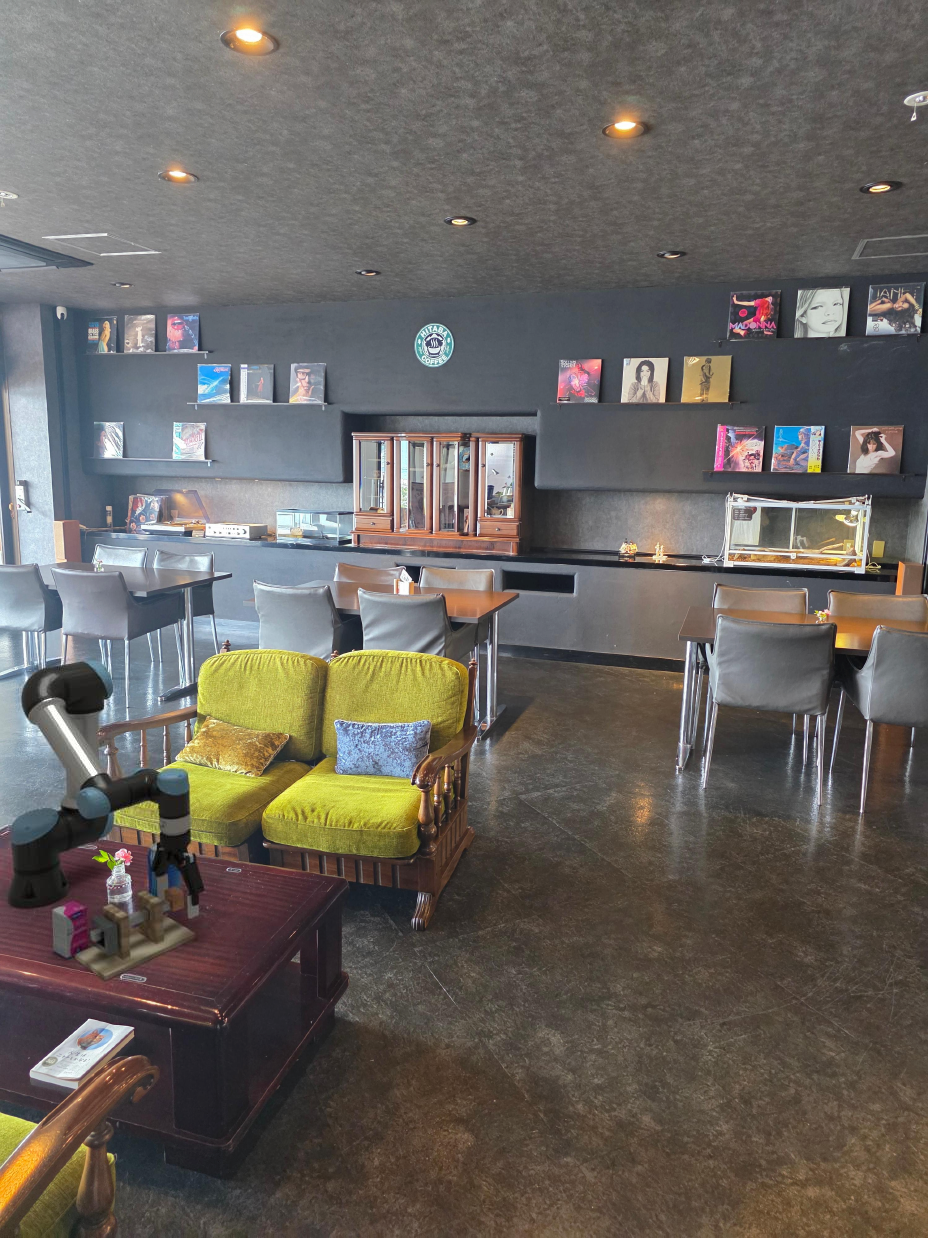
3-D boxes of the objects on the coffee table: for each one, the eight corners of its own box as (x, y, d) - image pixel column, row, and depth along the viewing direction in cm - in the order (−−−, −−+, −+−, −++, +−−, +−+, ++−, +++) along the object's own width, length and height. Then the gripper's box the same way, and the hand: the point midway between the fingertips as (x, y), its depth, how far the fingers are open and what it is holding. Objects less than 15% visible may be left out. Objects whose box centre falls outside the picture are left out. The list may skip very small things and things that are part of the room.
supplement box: (67, 960, 197) (64, 916, 195) (53, 953, 200) (50, 909, 198) (89, 949, 202) (87, 906, 200) (75, 942, 205) (72, 899, 203)
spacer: (93, 945, 197) (91, 919, 196) (102, 941, 199) (101, 915, 198) (108, 956, 193) (107, 929, 192) (118, 952, 195) (116, 924, 194)
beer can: (171, 909, 222) (169, 854, 219) (143, 905, 224) (140, 850, 221) (187, 894, 230) (185, 841, 227) (160, 891, 232) (158, 837, 229)
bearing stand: (75, 959, 198) (72, 913, 196) (164, 919, 217) (162, 877, 215) (105, 981, 189) (103, 933, 188) (195, 938, 208) (194, 894, 206)
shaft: (88, 939, 195) (87, 922, 194) (175, 902, 213) (174, 886, 212) (97, 945, 192) (96, 928, 192) (184, 907, 210) (183, 891, 210)
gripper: (134, 821, 212) (138, 897, 216) (190, 848, 197) (193, 929, 201) (160, 813, 218) (163, 887, 222) (217, 838, 203) (219, 917, 207)
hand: (178, 907), depth 211 cm, fingers open, 13 cm apart
